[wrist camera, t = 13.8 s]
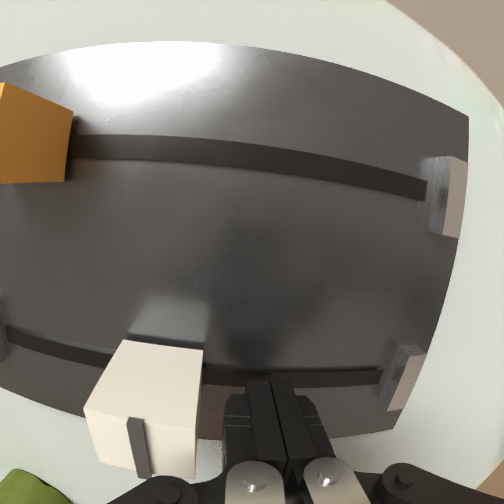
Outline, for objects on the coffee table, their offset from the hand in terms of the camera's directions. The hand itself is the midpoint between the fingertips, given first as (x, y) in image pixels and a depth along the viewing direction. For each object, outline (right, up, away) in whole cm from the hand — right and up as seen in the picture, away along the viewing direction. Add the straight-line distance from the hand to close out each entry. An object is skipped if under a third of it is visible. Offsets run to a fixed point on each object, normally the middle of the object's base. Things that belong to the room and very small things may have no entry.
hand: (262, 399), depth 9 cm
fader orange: (-8, +9, -1) cm, 12 cm away
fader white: (-4, +1, +1) cm, 4 cm away
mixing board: (-3, +5, +2) cm, 6 cm away
